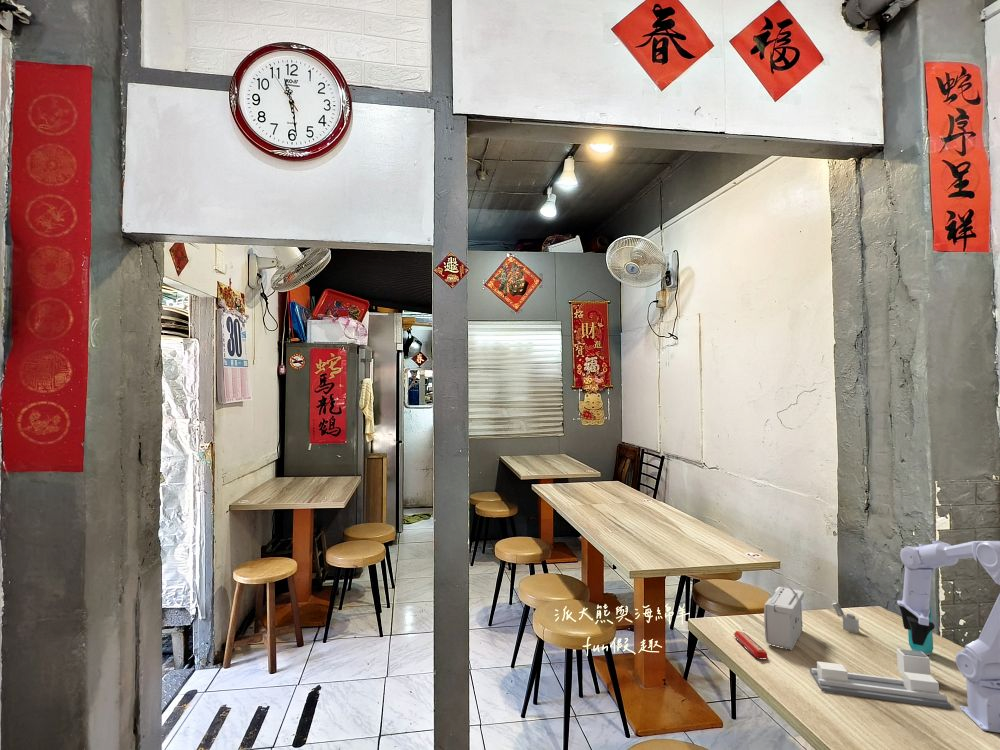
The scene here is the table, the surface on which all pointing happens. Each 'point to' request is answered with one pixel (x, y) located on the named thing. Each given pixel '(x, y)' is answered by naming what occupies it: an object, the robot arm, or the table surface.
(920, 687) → the block
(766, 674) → the table surface
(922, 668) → the module block
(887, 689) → the rail
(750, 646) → the red long bar
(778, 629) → the stereo radio cassette player
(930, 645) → the beverage can
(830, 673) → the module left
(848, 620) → the lighter
